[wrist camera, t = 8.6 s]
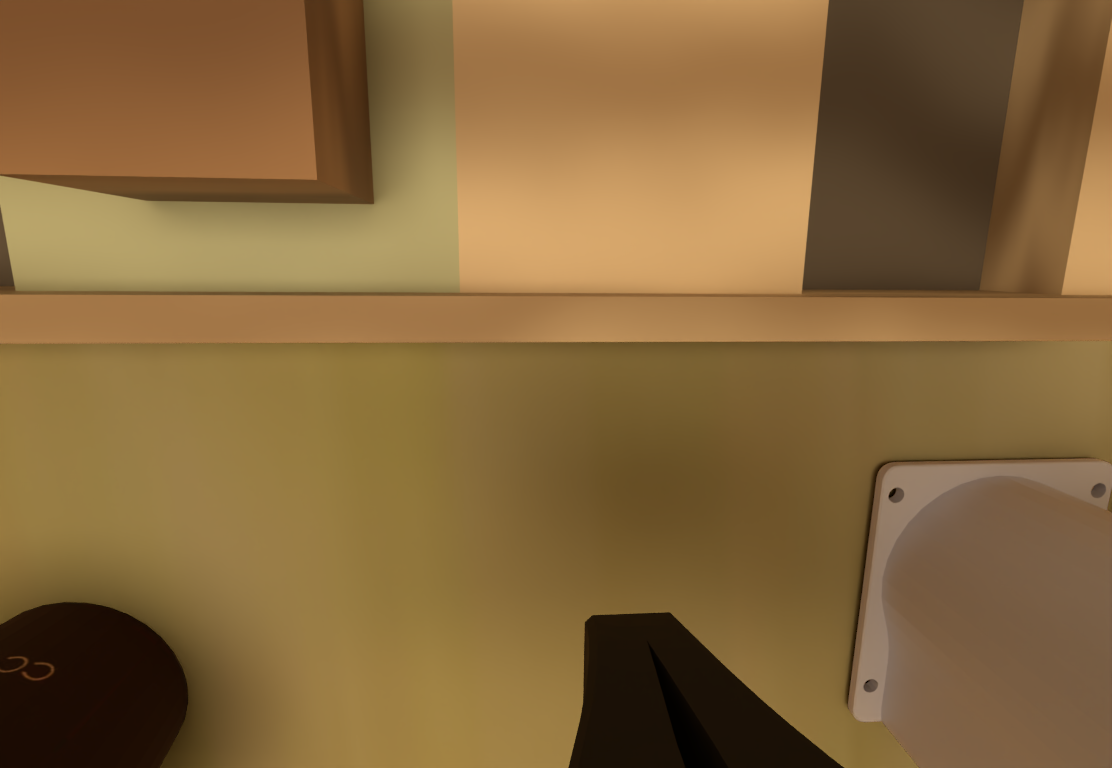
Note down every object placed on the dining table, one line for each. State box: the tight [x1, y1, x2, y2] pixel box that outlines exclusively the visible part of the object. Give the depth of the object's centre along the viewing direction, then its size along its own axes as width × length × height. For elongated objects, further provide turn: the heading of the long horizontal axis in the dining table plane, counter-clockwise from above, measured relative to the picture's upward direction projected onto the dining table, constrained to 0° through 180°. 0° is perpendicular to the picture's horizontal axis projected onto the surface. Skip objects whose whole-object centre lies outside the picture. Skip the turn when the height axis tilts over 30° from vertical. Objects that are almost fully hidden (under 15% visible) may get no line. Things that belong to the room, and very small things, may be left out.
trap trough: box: [0, 0, 1112, 344], centre depth 14 cm, size 11×36×4 cm, turn 90°
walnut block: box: [0, 0, 374, 204], centre depth 11 cm, size 5×5×4 cm
